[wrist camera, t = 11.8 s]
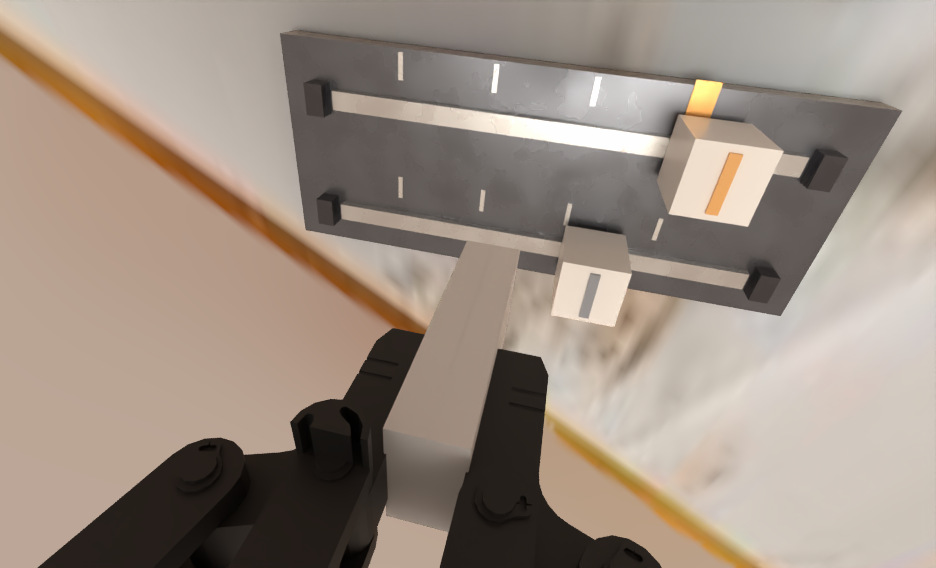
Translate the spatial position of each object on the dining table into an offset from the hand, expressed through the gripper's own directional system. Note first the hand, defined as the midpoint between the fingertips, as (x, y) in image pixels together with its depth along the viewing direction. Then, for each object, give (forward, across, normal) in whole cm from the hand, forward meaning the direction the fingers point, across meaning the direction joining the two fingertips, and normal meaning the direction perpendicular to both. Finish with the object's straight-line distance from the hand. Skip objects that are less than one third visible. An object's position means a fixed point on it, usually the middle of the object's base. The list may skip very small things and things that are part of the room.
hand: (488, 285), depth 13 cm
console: (+21, +1, -4) cm, 21 cm away
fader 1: (+18, +5, -8) cm, 21 cm away
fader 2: (+18, +10, 0) cm, 21 cm away
